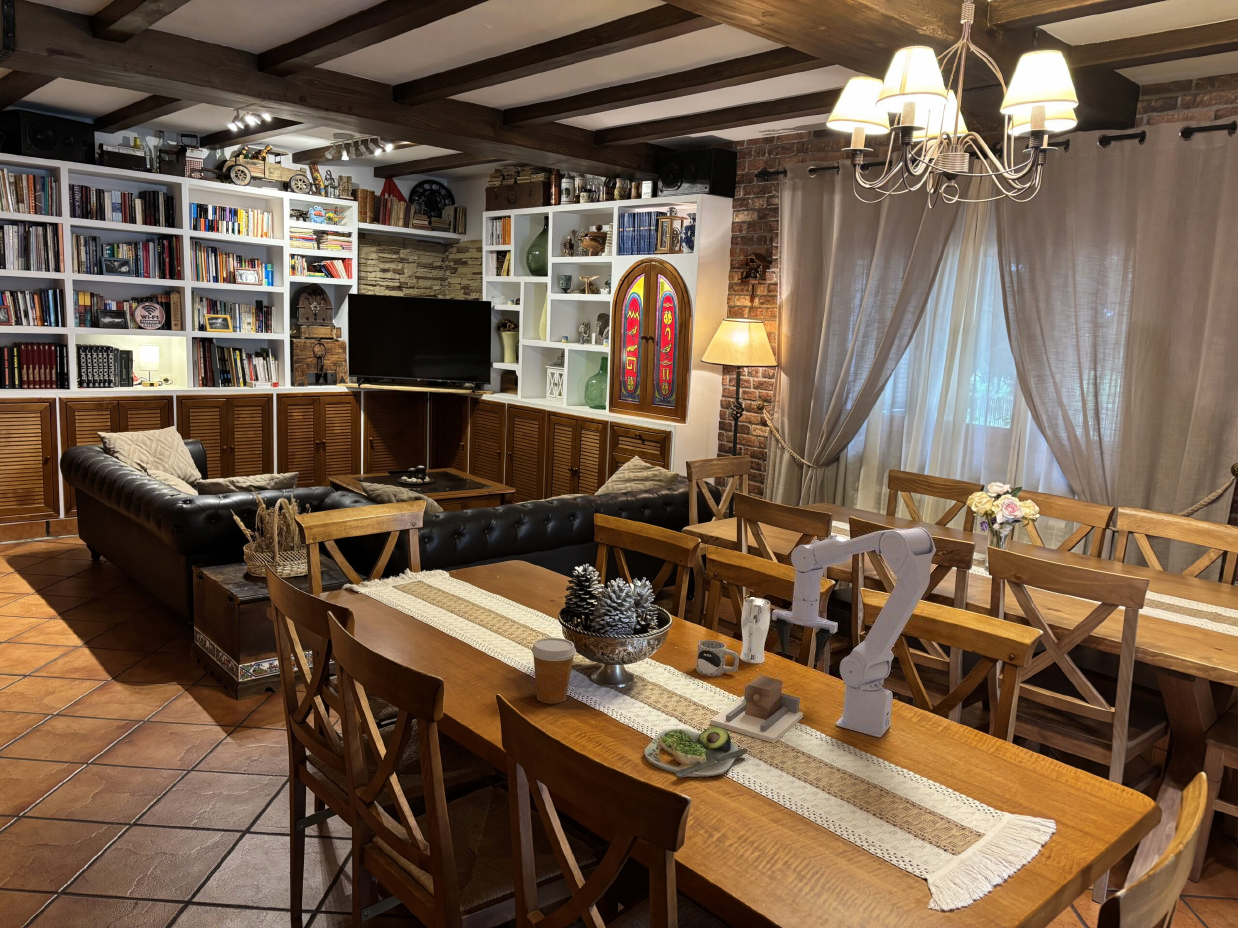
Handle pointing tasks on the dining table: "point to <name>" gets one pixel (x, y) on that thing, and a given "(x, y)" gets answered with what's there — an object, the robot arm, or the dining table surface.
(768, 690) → the cabinet block
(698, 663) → the mug
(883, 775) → the dining table surface
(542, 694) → the disposable coffee cup
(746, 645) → the beer glass
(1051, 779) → the dining table surface
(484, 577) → the dining table surface
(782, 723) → the cleat board
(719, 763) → the avocado toast plate
